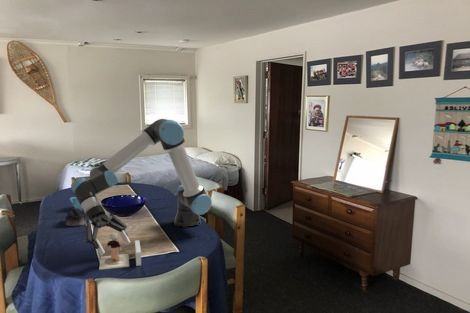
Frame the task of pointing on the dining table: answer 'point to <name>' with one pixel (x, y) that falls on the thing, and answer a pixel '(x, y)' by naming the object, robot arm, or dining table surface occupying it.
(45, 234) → the dining table surface
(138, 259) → the low wall
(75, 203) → the teapot
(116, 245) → the grandmother figurine
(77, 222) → the crystal cluster
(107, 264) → the resting pad
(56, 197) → the dining table surface
